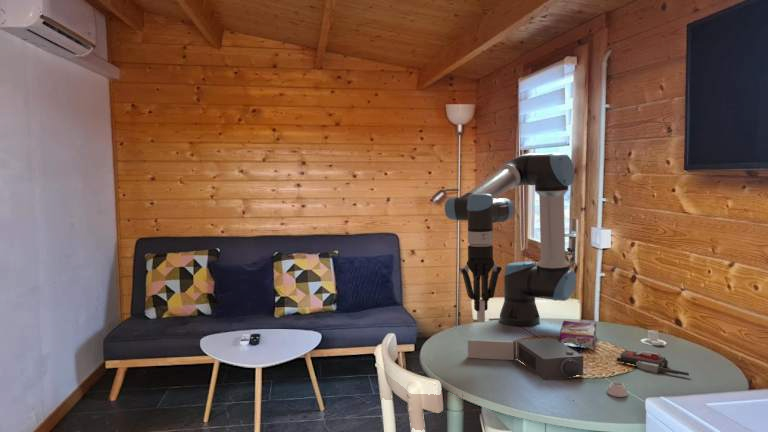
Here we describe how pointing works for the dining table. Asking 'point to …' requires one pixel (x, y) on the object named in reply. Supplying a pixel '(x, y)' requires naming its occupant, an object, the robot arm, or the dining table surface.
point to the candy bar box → (578, 333)
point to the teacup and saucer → (653, 339)
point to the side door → (492, 349)
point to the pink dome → (617, 389)
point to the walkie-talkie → (648, 361)
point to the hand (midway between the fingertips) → (481, 320)
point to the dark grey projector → (549, 358)
